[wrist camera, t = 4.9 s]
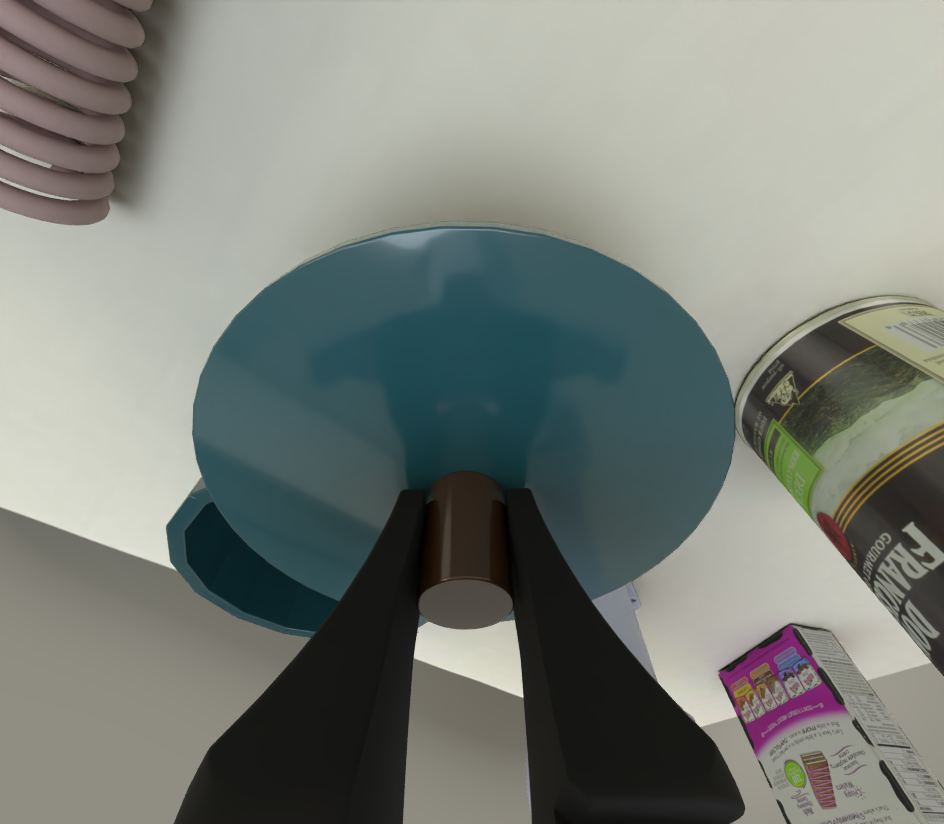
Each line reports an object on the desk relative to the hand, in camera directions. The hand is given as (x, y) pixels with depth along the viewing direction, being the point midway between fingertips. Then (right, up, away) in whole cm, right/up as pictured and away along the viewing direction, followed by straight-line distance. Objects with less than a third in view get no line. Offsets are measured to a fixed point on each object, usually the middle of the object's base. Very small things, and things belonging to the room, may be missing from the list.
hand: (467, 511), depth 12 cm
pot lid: (0, +1, +1) cm, 1 cm away
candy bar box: (+30, -21, +29) cm, 47 cm away
